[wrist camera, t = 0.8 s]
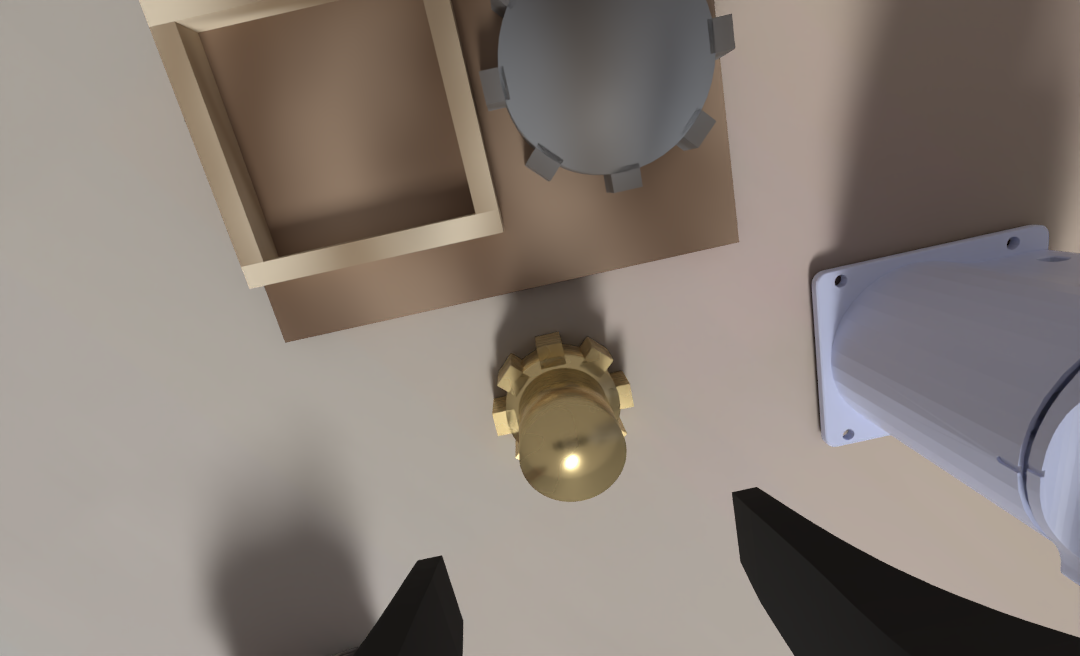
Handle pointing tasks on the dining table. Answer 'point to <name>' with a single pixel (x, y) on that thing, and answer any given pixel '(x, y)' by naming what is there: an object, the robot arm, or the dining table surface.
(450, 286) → the gear board
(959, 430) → the robot arm
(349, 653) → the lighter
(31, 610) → the dining table surface
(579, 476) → the brass gear
